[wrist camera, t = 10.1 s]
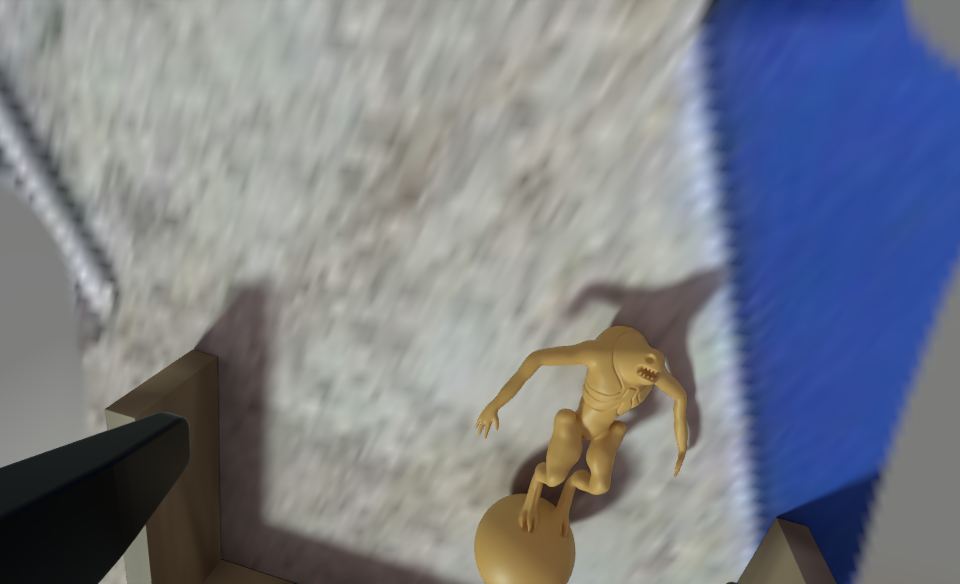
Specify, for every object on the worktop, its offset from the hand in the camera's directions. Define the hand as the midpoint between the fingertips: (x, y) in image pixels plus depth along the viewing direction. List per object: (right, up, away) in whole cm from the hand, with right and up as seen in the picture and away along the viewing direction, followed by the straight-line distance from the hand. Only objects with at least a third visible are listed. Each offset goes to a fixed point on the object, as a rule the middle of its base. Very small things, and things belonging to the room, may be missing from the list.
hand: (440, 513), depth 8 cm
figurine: (+2, -7, +14) cm, 16 cm away
